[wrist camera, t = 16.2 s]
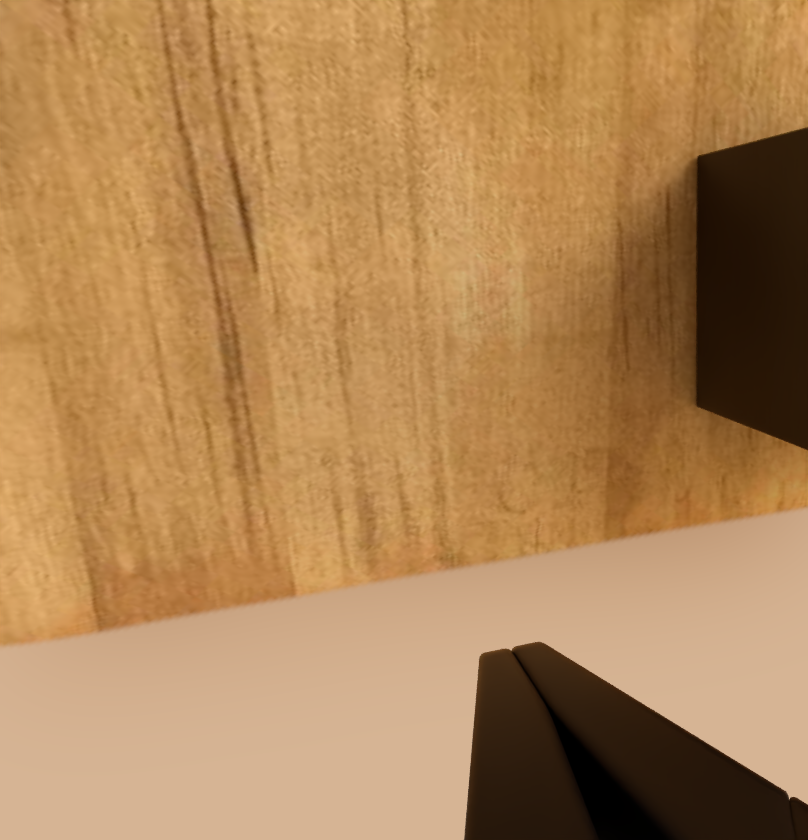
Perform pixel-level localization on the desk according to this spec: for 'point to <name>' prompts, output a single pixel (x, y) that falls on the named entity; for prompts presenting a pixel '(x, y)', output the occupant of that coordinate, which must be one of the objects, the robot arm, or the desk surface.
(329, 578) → the desk surface
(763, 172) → the button box
